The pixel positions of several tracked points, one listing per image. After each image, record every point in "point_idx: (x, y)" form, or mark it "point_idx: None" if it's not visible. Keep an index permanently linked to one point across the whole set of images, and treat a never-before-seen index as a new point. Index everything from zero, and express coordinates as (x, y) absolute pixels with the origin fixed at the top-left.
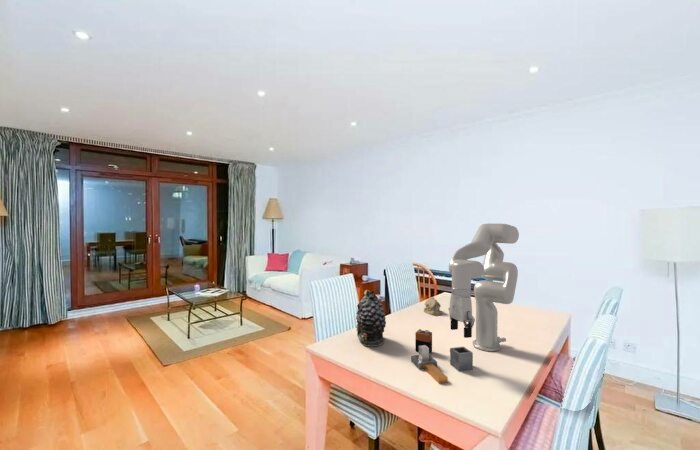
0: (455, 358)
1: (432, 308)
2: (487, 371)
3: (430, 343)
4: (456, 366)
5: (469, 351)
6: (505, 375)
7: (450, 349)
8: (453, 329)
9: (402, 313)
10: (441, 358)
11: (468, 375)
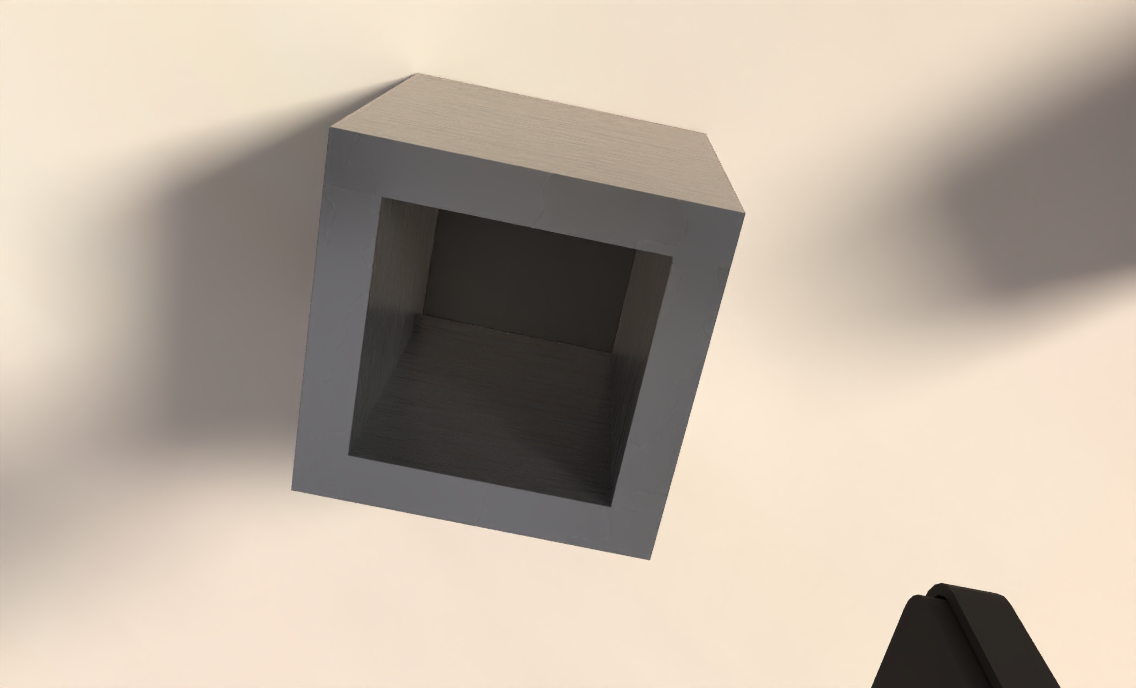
0: (506, 129)
1: None
2: (250, 489)
3: None
4: (483, 96)
5: (367, 473)
6: (72, 602)
7: (727, 200)
8: (888, 662)
9: None
10: (987, 165)
11: (235, 121)
